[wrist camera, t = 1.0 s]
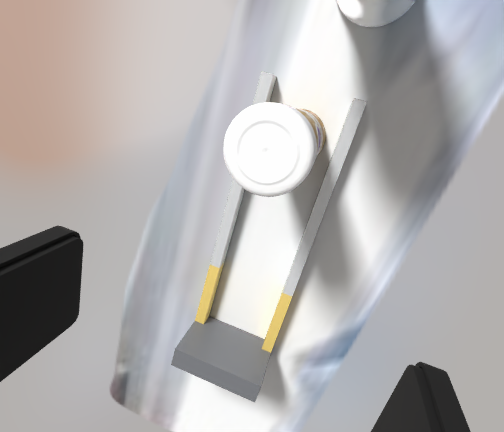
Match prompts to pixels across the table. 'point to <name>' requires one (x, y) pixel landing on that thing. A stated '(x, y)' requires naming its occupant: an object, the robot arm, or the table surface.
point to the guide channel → (255, 348)
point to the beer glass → (374, 11)
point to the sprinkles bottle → (272, 147)
